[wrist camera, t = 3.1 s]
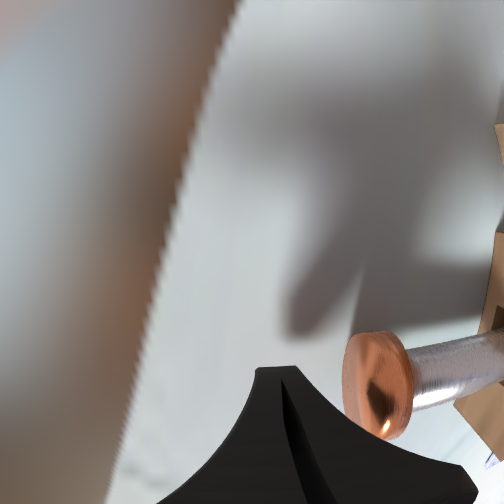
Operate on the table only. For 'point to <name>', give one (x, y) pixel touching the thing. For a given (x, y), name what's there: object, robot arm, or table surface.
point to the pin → (413, 376)
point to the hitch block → (500, 394)
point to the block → (500, 138)
